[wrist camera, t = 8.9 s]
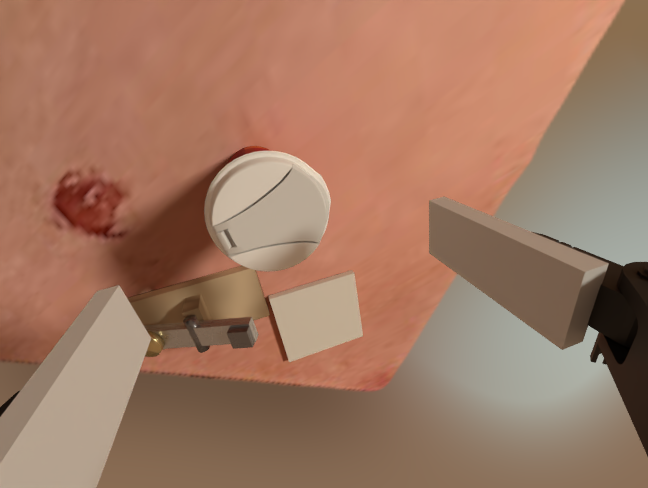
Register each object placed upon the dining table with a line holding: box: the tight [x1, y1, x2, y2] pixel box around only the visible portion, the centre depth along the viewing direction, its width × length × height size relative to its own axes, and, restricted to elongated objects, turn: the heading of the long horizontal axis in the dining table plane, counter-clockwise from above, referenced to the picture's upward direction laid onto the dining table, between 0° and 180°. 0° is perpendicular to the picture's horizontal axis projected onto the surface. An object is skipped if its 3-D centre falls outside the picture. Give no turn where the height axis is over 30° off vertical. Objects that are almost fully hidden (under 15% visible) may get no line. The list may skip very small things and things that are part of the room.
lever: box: [144, 315, 258, 357], centre depth 29 cm, size 12×4×2 cm, turn 100°
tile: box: [269, 270, 363, 362], centre depth 38 cm, size 11×11×1 cm
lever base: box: [127, 266, 270, 350], centre depth 32 cm, size 14×7×4 cm, turn 100°
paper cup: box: [204, 146, 331, 271], centre depth 23 cm, size 8×8×14 cm
